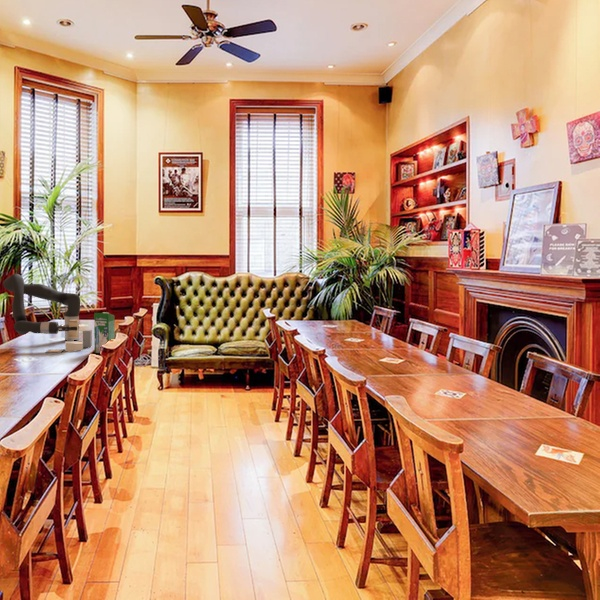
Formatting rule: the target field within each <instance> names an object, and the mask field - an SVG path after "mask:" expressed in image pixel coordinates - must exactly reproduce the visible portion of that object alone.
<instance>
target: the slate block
mask: <svg viewBox="0 0 600 600" xmlns="http://www.w3.org/2000/svg"><path fill="white" fill-rule="evenodd" d="M92 332H93V330H92V329H83V330H82V342H83V347H91V346H92V347H93V333H92ZM92 347H91V348H92Z"/></svg>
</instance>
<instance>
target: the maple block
mask: <svg viewBox="0 0 600 600" xmlns="http://www.w3.org/2000/svg"><path fill="white" fill-rule="evenodd" d="M69 326H70V327H77V330H71V331H69V338H78V320H69Z"/></svg>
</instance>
